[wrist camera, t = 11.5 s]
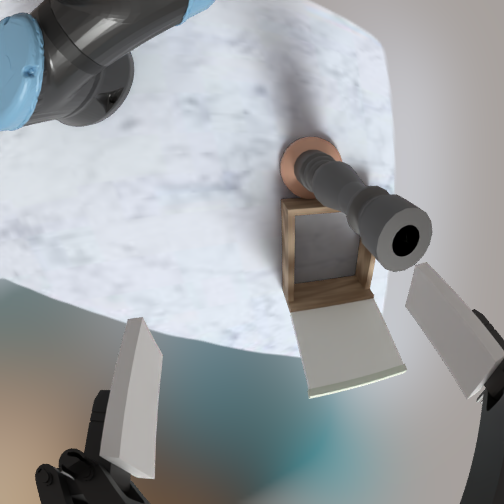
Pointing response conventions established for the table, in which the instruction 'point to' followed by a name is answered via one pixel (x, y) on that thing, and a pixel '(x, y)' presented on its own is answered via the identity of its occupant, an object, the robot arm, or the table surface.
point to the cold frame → (323, 290)
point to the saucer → (294, 153)
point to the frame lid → (345, 347)
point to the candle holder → (368, 210)
